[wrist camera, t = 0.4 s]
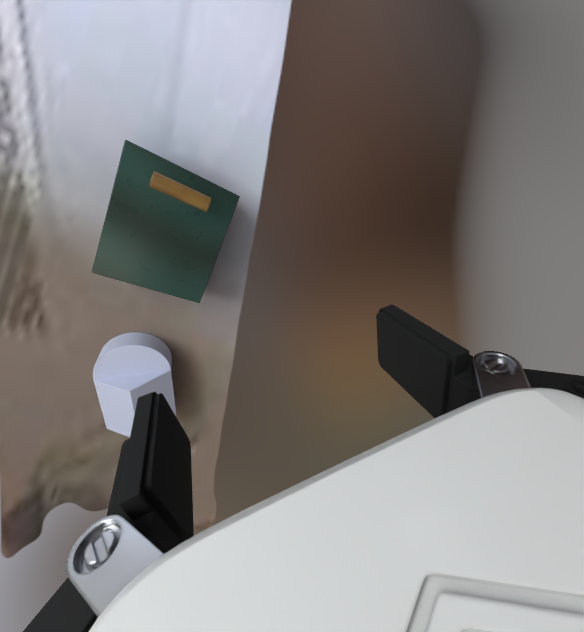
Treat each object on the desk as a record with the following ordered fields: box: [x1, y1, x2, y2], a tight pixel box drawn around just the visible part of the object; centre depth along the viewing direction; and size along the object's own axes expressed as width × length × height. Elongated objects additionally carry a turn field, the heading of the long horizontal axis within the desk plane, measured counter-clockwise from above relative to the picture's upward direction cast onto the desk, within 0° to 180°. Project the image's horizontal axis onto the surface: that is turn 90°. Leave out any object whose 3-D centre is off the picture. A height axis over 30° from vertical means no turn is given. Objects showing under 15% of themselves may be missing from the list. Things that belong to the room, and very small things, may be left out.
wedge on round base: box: [93, 332, 176, 437], centre depth 38 cm, size 9×7×13 cm
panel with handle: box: [92, 140, 240, 303], centre depth 28 cm, size 13×11×6 cm
